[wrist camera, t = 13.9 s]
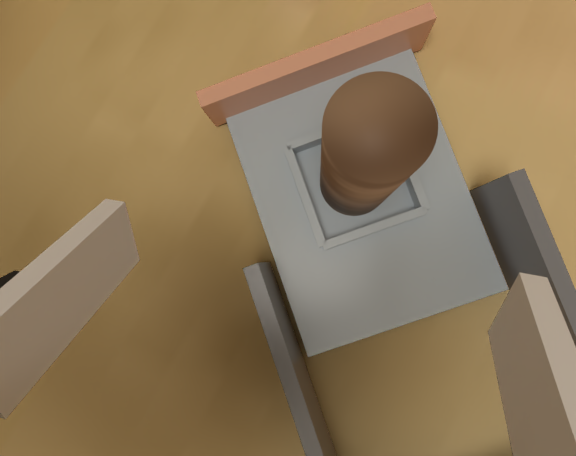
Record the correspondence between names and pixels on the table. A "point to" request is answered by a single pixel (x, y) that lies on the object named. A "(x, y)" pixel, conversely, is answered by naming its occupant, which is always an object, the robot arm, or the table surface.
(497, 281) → the tray
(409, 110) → the wooden dowel
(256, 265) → the dock
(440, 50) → the table surface
